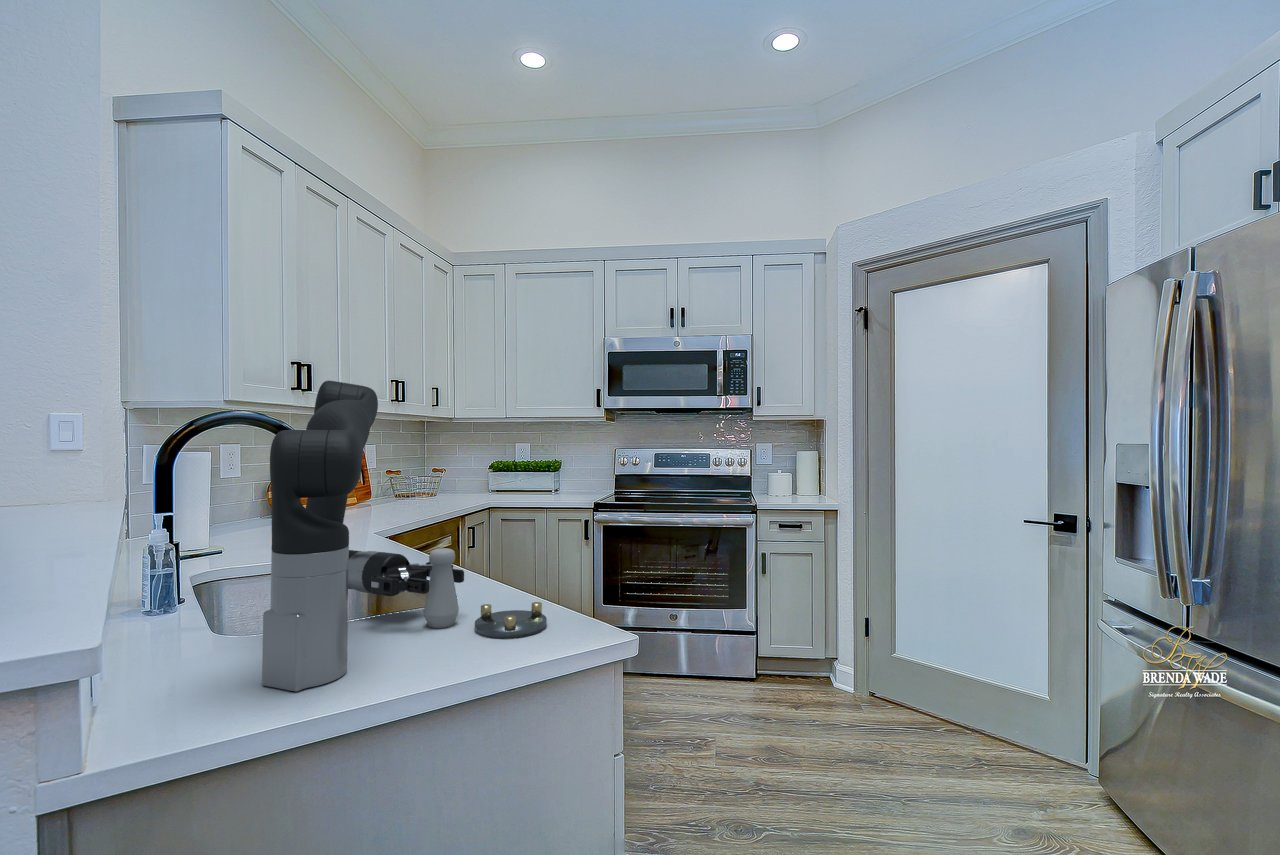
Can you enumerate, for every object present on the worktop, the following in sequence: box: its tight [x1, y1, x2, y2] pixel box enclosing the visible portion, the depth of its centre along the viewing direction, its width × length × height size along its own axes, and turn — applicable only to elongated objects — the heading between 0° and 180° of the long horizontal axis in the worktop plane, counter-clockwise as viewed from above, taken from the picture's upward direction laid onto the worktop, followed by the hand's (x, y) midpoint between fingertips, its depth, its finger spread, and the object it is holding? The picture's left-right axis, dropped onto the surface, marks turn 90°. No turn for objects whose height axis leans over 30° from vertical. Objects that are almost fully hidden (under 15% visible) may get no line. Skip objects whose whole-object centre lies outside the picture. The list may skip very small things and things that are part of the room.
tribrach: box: [474, 601, 548, 640], centre depth 103 cm, size 12×12×3 cm
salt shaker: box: [423, 547, 460, 629], centre depth 104 cm, size 6×6×13 cm
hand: (446, 581), depth 104 cm, fingers open, 8 cm apart
